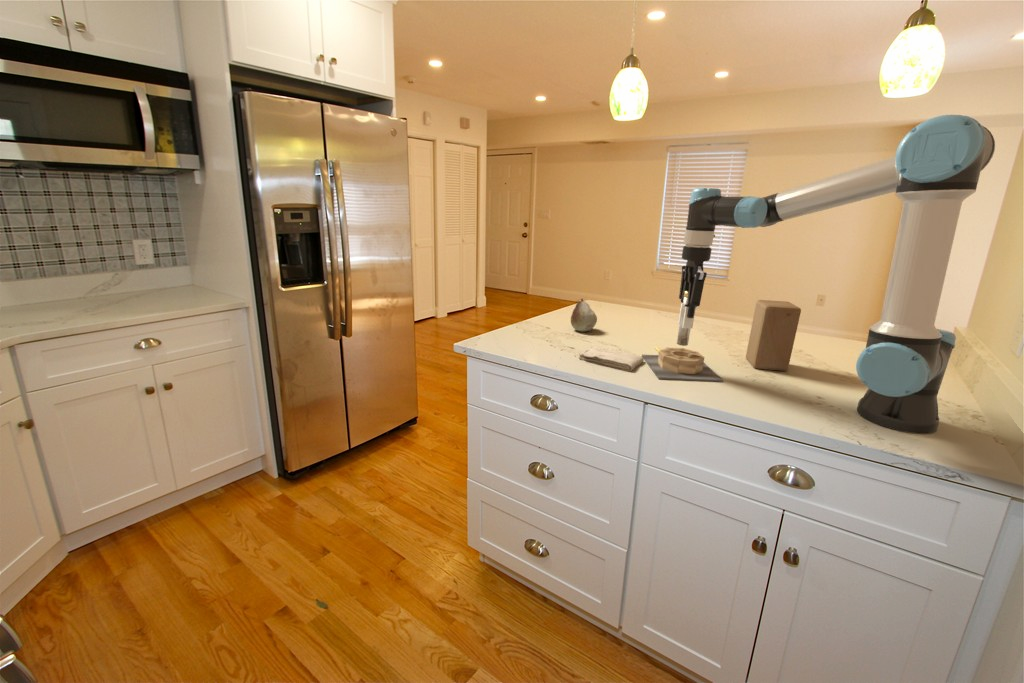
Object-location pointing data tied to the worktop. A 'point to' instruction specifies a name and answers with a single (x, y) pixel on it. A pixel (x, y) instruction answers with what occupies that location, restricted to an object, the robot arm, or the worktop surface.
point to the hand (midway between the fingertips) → (685, 326)
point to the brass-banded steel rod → (683, 332)
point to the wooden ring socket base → (680, 365)
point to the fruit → (583, 317)
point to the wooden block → (772, 334)
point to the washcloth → (611, 358)
